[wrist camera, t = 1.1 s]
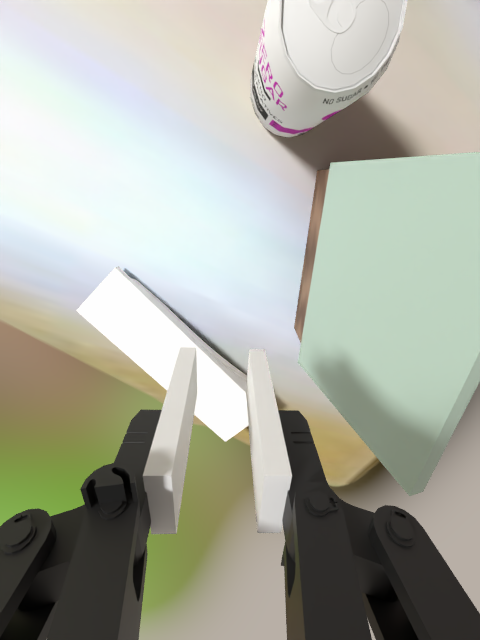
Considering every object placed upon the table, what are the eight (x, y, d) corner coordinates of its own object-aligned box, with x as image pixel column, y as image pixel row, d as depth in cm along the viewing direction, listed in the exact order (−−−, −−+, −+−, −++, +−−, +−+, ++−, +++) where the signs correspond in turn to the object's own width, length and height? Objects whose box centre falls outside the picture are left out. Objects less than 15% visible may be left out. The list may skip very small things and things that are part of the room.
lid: (342, 163, 25) (330, 162, 25) (599, 147, 11) (580, 144, 11) (306, 361, 34) (297, 362, 34) (423, 491, 20) (409, 496, 20)
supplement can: (346, 83, 29) (449, -3, 15) (291, 155, 32) (337, 137, 18) (288, 12, 26) (350, -162, 13) (233, 98, 29) (237, 26, 16)
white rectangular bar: (105, 294, 44) (230, 409, 50) (71, 317, 38) (218, 445, 44) (139, 252, 39) (273, 386, 45) (105, 271, 33) (266, 423, 39)
